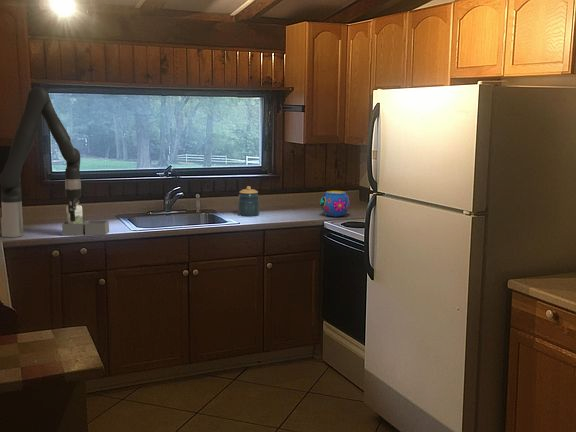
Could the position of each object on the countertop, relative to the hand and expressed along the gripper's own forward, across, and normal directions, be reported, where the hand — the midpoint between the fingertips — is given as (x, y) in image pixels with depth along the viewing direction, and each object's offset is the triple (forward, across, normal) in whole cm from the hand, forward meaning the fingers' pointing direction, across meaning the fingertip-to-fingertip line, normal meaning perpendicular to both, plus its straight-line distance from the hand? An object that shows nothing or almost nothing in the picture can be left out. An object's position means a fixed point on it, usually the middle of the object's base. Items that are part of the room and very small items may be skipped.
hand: (74, 219), depth 329 cm
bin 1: (+7, 0, 0) cm, 7 cm away
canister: (+8, -58, +90) cm, 107 cm away
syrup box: (+7, 0, 0) cm, 7 cm away
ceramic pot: (+8, -51, +142) cm, 151 cm away
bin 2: (+7, 0, +11) cm, 13 cm away
